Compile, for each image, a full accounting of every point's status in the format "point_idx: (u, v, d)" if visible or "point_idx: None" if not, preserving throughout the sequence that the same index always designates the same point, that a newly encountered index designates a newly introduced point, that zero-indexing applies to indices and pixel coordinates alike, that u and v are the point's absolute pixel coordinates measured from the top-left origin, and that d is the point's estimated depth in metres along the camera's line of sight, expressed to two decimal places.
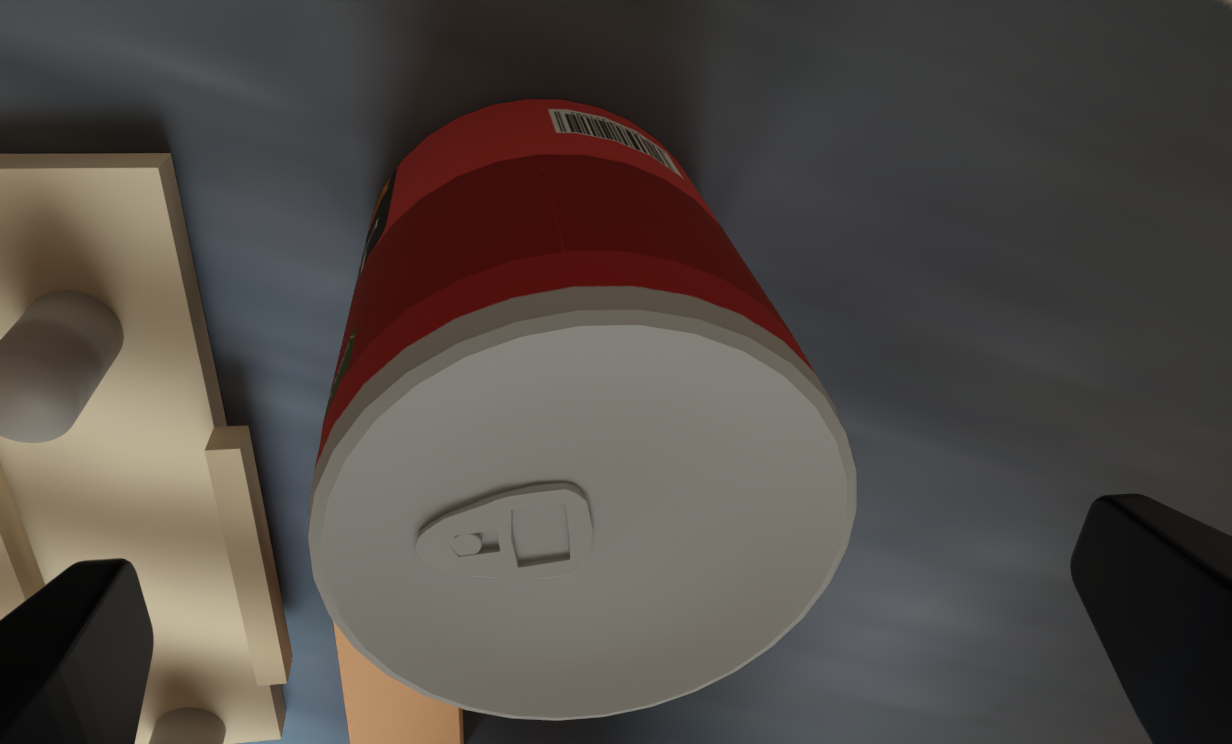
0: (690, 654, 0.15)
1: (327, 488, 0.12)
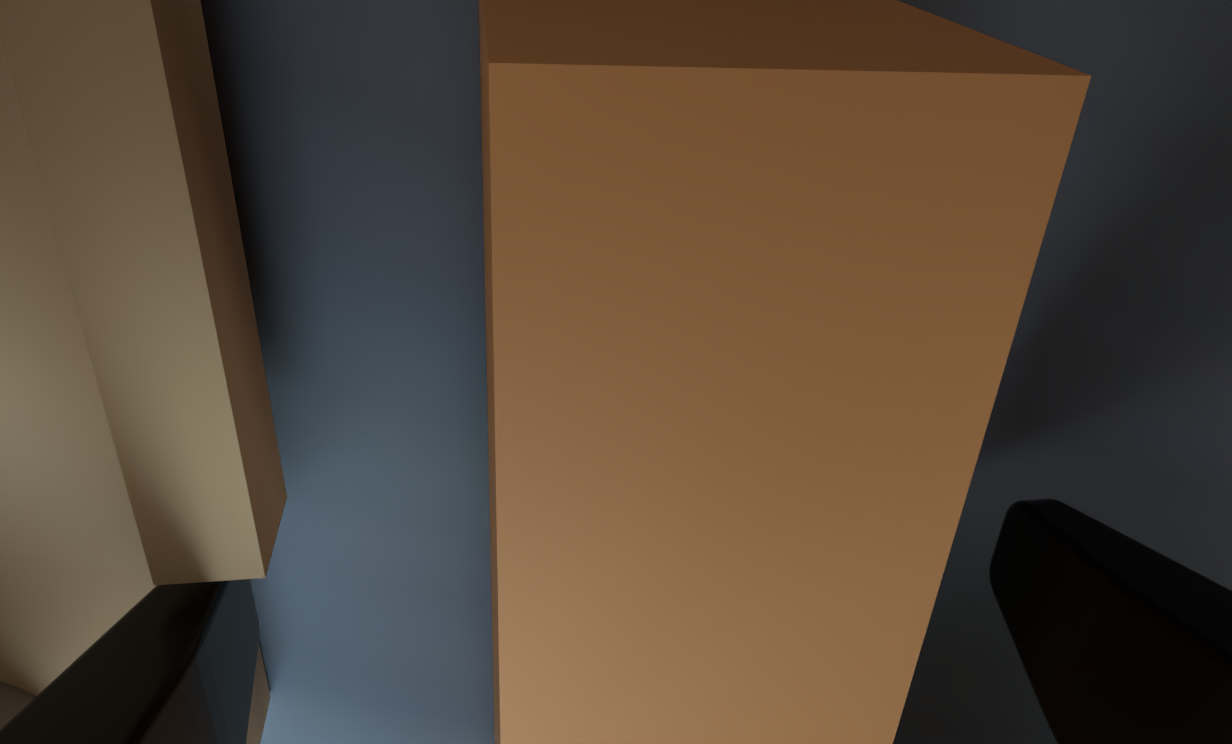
0: None
1: None
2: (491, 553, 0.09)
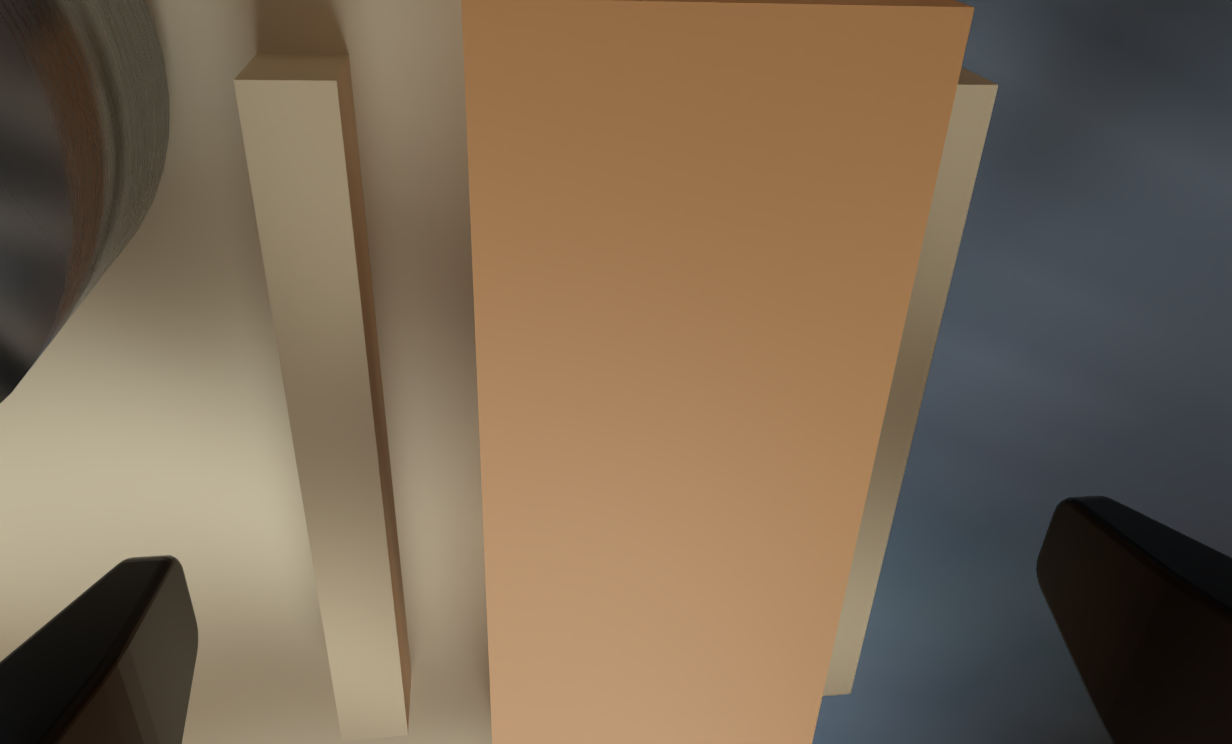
0: None
1: None
2: None
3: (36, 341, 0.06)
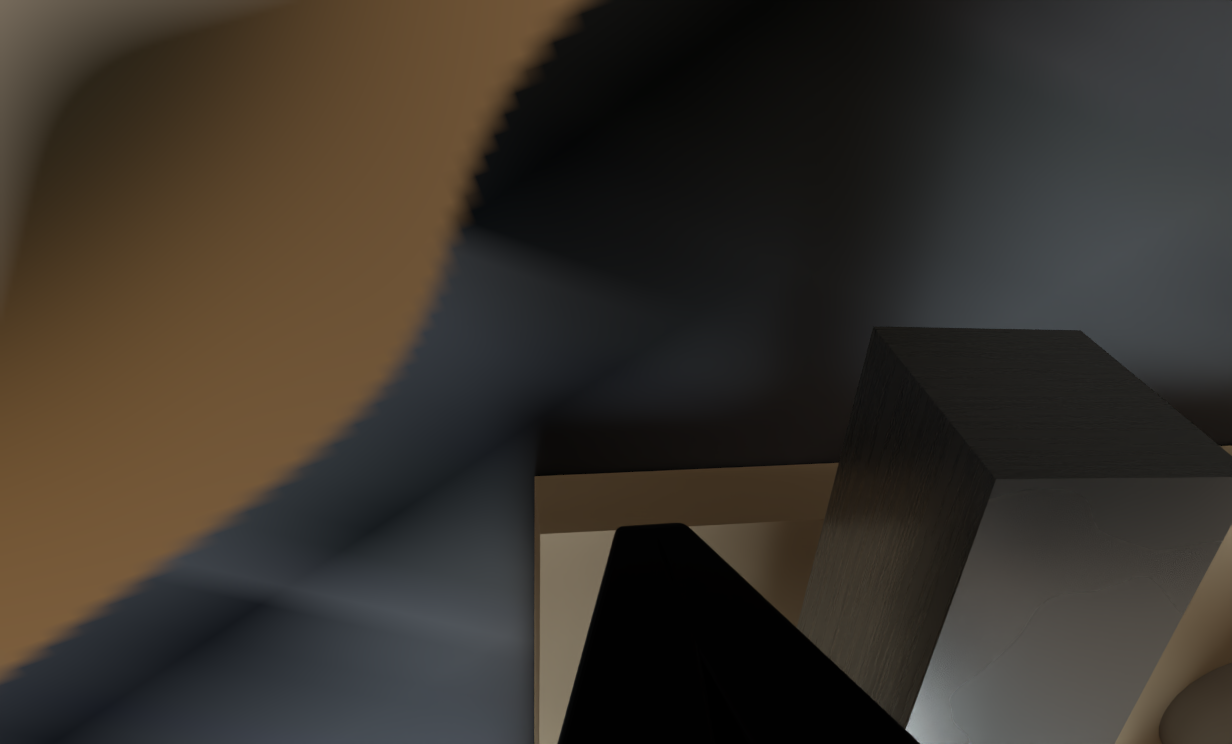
0: None
1: None
2: None
3: None
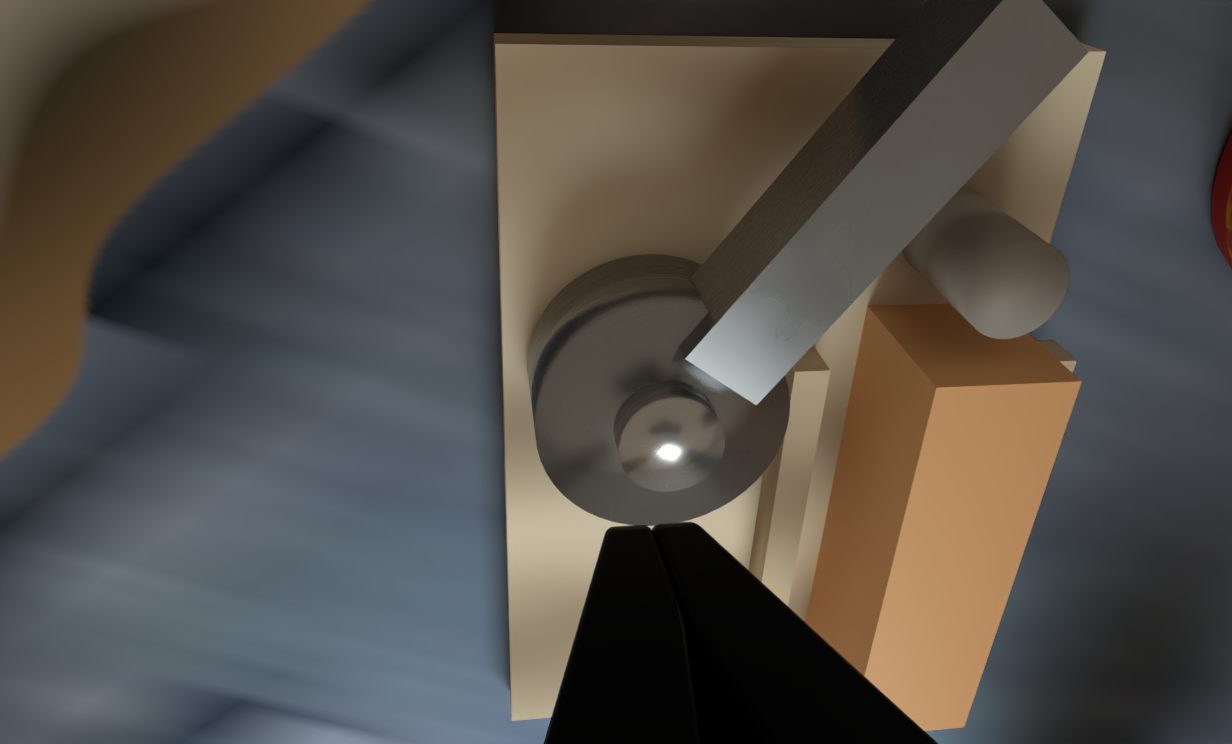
0: None
1: None
2: (843, 514, 0.22)
3: (697, 516, 0.19)
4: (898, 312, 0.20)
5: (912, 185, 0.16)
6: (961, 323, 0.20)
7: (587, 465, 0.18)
